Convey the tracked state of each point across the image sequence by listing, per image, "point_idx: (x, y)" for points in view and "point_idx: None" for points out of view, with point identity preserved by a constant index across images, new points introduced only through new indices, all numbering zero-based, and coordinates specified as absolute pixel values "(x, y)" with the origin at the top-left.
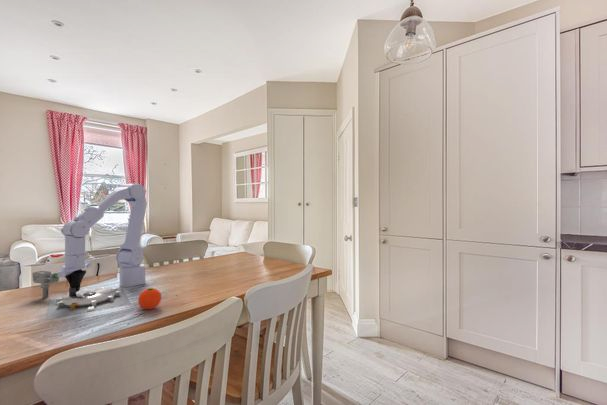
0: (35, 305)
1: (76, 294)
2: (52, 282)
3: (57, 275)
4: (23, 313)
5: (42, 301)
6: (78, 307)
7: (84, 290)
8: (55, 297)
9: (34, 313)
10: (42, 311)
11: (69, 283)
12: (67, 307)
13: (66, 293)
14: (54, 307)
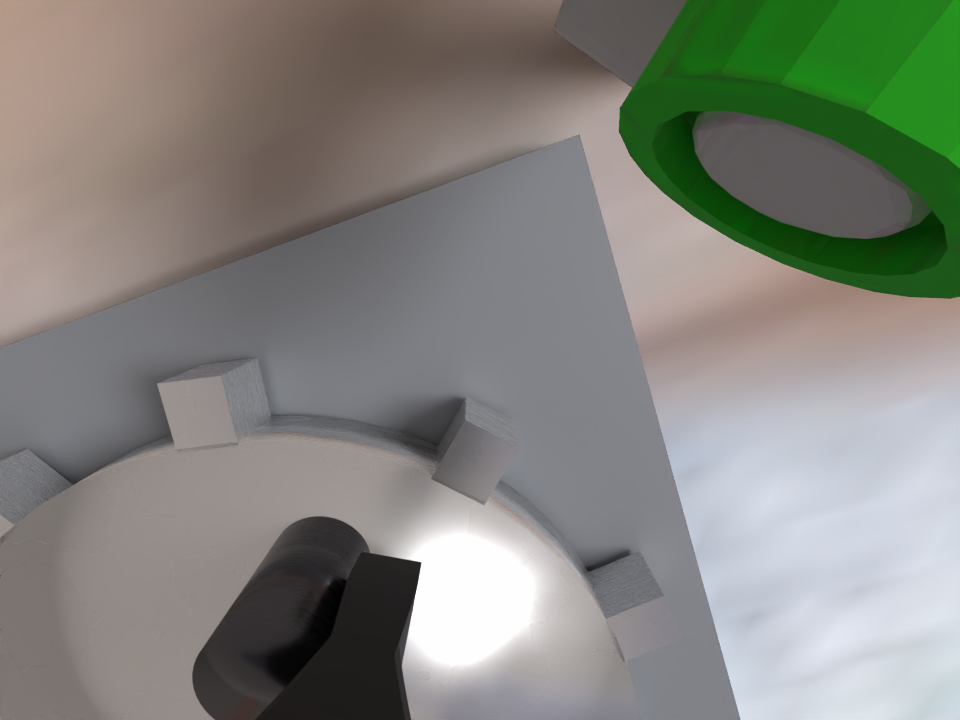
0: (372, 17)
1: None
2: (619, 75)
3: (869, 214)
4: (20, 23)
5: None
6: None
7: (569, 631)
8: (565, 213)
9: (5, 189)
10: (74, 260)
11: (286, 690)
12: None
13: (470, 424)
14: (51, 410)
